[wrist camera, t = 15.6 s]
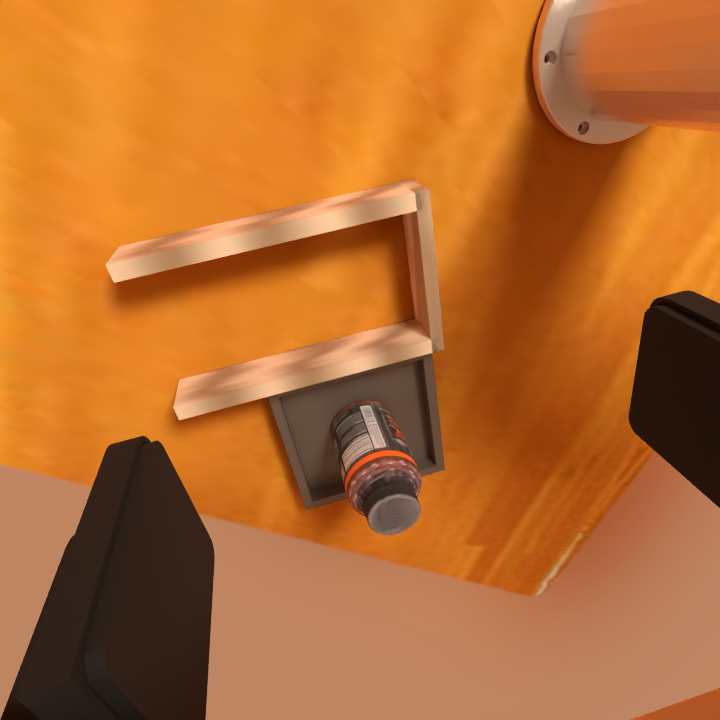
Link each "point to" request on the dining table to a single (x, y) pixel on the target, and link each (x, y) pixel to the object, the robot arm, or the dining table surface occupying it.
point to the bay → (319, 358)
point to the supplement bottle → (377, 466)
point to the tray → (326, 399)
